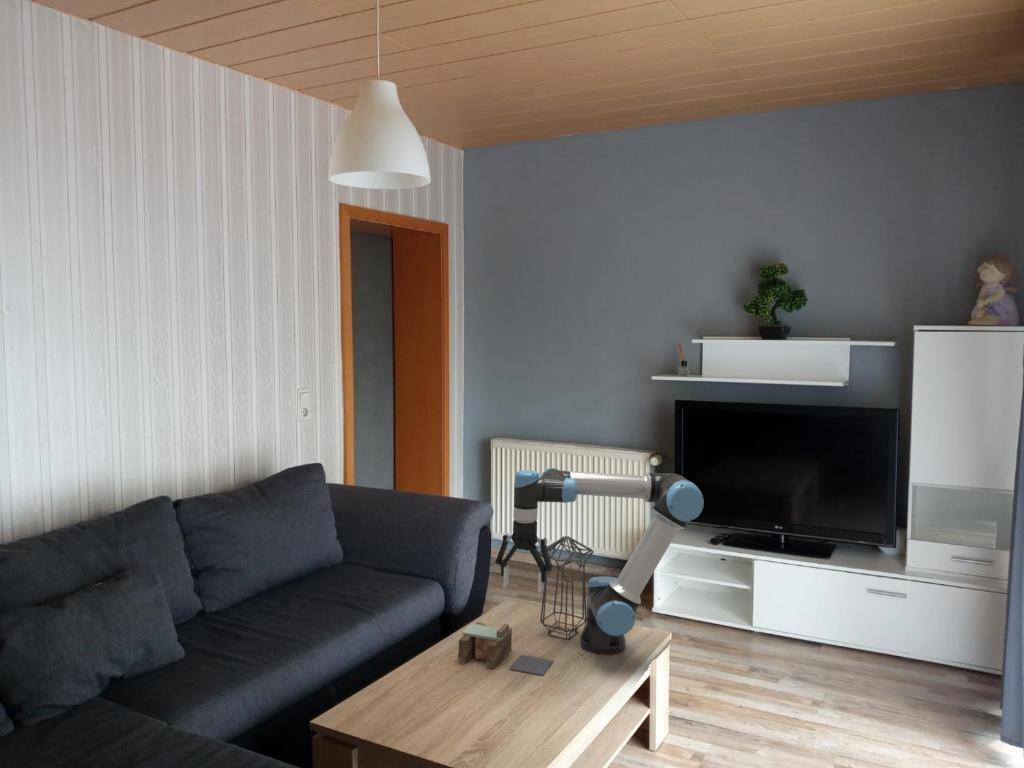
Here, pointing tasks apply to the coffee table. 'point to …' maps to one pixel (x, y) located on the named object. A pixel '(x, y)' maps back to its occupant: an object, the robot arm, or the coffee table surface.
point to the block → (481, 648)
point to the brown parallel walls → (494, 649)
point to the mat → (531, 665)
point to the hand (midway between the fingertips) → (522, 589)
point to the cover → (487, 631)
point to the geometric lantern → (566, 583)
